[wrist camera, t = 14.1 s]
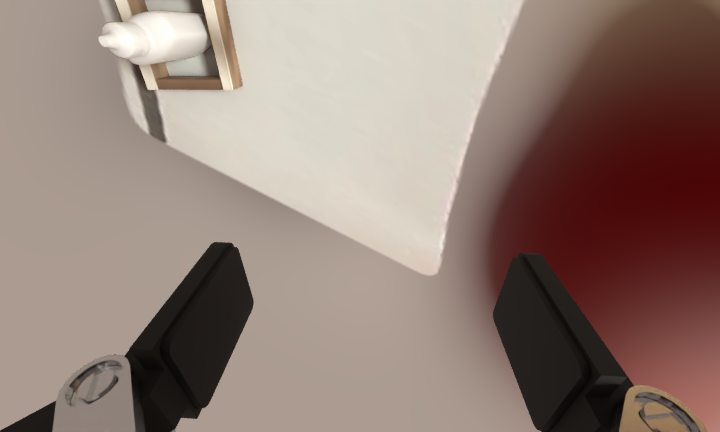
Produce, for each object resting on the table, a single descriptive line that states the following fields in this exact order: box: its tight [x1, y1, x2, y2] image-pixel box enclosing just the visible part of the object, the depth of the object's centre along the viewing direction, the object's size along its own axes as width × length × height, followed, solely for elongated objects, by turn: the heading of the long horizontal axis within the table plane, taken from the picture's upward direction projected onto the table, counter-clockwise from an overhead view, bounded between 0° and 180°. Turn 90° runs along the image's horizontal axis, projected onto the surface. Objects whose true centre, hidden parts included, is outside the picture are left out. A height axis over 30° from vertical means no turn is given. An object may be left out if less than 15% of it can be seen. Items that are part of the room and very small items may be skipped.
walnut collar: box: [115, 0, 243, 90], centre depth 30 cm, size 10×10×3 cm
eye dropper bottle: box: [99, 11, 212, 65], centre depth 26 cm, size 4×6×12 cm
